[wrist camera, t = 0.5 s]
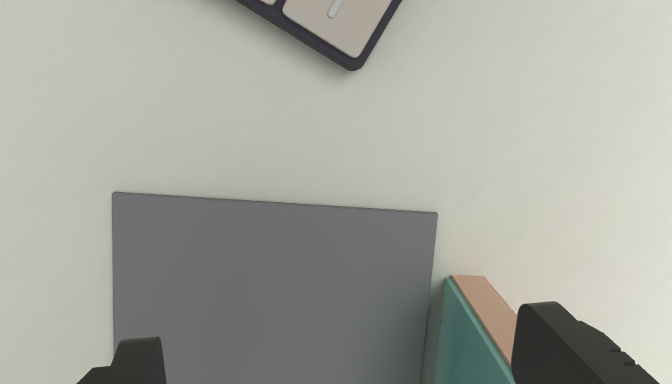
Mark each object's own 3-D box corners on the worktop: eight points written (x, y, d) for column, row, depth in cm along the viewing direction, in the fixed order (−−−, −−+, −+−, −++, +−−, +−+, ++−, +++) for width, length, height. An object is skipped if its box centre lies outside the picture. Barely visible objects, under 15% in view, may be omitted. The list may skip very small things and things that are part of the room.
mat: (436, 212, 32) (437, 214, 32) (409, 467, 36) (410, 472, 35) (115, 192, 32) (111, 193, 32) (118, 450, 35) (115, 455, 35)
